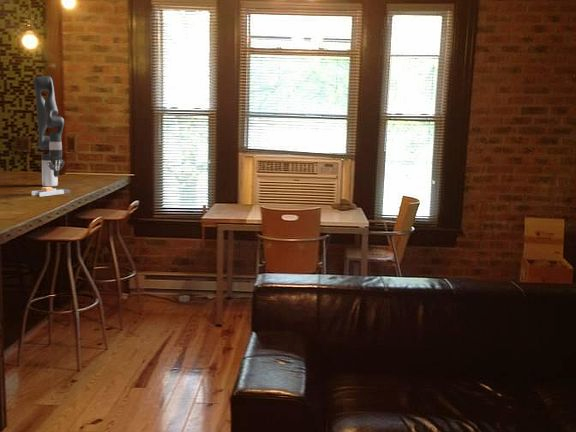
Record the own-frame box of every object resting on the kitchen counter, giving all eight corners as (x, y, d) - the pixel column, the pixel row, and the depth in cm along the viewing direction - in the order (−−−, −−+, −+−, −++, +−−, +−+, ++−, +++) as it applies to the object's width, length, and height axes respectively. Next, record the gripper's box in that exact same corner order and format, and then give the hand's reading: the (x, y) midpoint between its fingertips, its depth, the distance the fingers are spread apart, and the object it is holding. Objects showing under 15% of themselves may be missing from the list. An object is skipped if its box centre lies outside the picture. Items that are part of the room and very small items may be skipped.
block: (47, 193, 419) (47, 186, 418) (52, 194, 417) (52, 187, 416) (41, 194, 415) (41, 187, 414) (46, 195, 413) (46, 188, 412)
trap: (61, 191, 430) (61, 188, 430) (70, 192, 426) (70, 190, 426) (55, 192, 426) (55, 189, 426) (63, 193, 422) (63, 190, 422)
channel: (55, 192, 426) (55, 188, 425) (63, 193, 422) (63, 189, 421) (31, 195, 411) (31, 191, 410) (40, 196, 407) (40, 192, 406)
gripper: (60, 148, 425) (60, 175, 428) (42, 148, 413) (43, 176, 416) (68, 148, 421) (68, 176, 424) (51, 149, 410) (51, 178, 413)
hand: (56, 176), depth 420 cm, fingers closed
